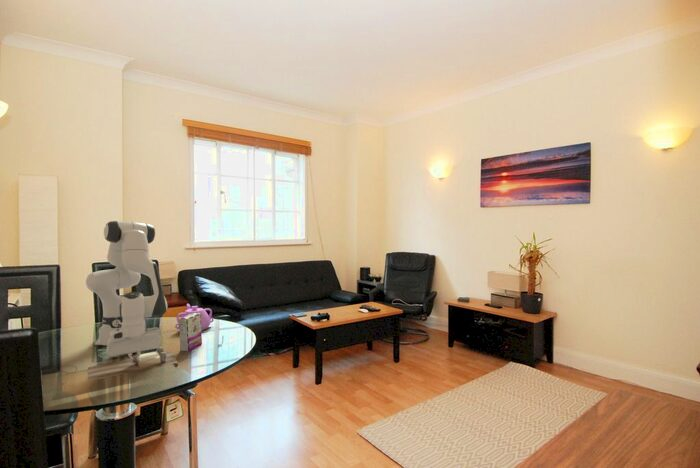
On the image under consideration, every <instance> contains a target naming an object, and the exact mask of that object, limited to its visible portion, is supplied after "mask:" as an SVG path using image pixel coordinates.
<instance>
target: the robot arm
mask: <svg viewBox="0 0 700 468" xmlns="http://www.w3.org/2000/svg"><path fill="white" fill-rule="evenodd" d="M103 236H104V239H105V240H106V241H107V242H108V243H109V246H108V251H107V256H106V260H107V262H108V263H109V264H110V265H112V266H114V267H115V268H113V269H103V270H98V271H94V272H90V273H89V274H88V275H87V277H86V278H85V284H86V288H87V289H88V290H89V291H90V292H93V293H95V294H96V295H97V297H99V299H100V301H101V305H102V319H101V321H102V322H101V323H102V325H101V326H100V328H98V339H97V340H96V341H95V342H94V345H95V346H106V351H105V352H106V356H107V357H108V358H111V357H117V356H120V355H122V356H124V355H123V354H126V355H127V356H128V357H129V359H131V363H134V362H138V358H139V356H140V355H141V354H142V352H144V351H149V350H150V351H151V350H155V349H157V348H159V347H162V344H161V337H160V336H161V335H162V329H161V328H159V327H157V326H154V327H147V326H146V320H145V318H161V317H163V316H164V315H165V314H166V312H167V311H168V302H167V298H166V297H165V294H164V289H163V284H162V281H161V280H162V279H161V276H160V272H159V268H158V265H157V263H156V262H155V261H153V260H152V259H151V258H150V253H149V252H150V249H149V244H151V243H153V241H154V240H155V236H156V230H155V227H154V226H153V225H152V224H149V223H142V222H137V221H117V220H111V221H108V222H107V223H106V224H105V226H104V228H103ZM141 274H142V275H144V276H147V277H148V278H149V279H150V282H151V285H152V290H153V294H152V295H148V296H144V294H143V293H142V292H141V291H129V292H126V293H124V294H123V295H122V296H121V295H118V293H117V290H121V289H127V288H128V289H129V288H132V287H134V286H137V285H138V284H139V283H140V282H141V279H142V276H141ZM118 323H122V327H121V328H118ZM133 353H136V356H134V357H133Z"/></svg>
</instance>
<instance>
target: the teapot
mask: <svg viewBox="0 0 700 468" xmlns="http://www.w3.org/2000/svg"><path fill="white" fill-rule="evenodd" d="M207 311H209V314H208V312H207ZM192 313H201V331H204V330H207V329H208V328H209V326H210V325H211V324H212V323H213V322H214V318H213V317H212V315H213V310H212V309H211V308H202V307H199V306H198V305H192V306H191V305H190V303H186V309H185V311H184V312H179V313H178V314H177V315H176V321H177V323H176V324H175V326H174V328H175V329H176V330H177V329H178V330H179V318H182V317H184V316H187V315H189V314H192ZM180 316H181V317H180Z"/></svg>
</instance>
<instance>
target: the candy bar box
mask: <svg viewBox="0 0 700 468" xmlns="http://www.w3.org/2000/svg"><path fill="white" fill-rule="evenodd" d="M181 317H182V316H181ZM181 317H179V325H178V327H179V329H178V330H179V346H180V352H190V351H193V350H194V349H196V348H198V347H199V346H201V345H202V344H203V340H202V338H203V336H202V335H203V334H202V330H201V313H192V314H189V315H187V316H184V317H182V318H181Z"/></svg>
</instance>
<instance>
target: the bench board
mask: <svg viewBox="0 0 700 468" xmlns="http://www.w3.org/2000/svg"><path fill="white" fill-rule="evenodd" d="M156 349H157V352H158V354H159V356H160V360H161V363H159V364H154V365H150V366H145V367H140V368H139V365H138V362H134V363H131V359H130V358H129V359H125V360H119V361H114V362H109V363H104V364H98V365H92V366H88V367H87V383H88V382H93V381H99V380H103V379H107V378H111V377H116V376H121V375H126V374H131V373H135V372H140V371H145V370H150V369H154V368H158V367H164V366H168V365H173V366H174V367H178V366H179V363H178V360H177V359H176V358H175V356H174V354H173V352H172V351H170V350H169V351H164V347H163V346H160V347H159V348H156Z"/></svg>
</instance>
